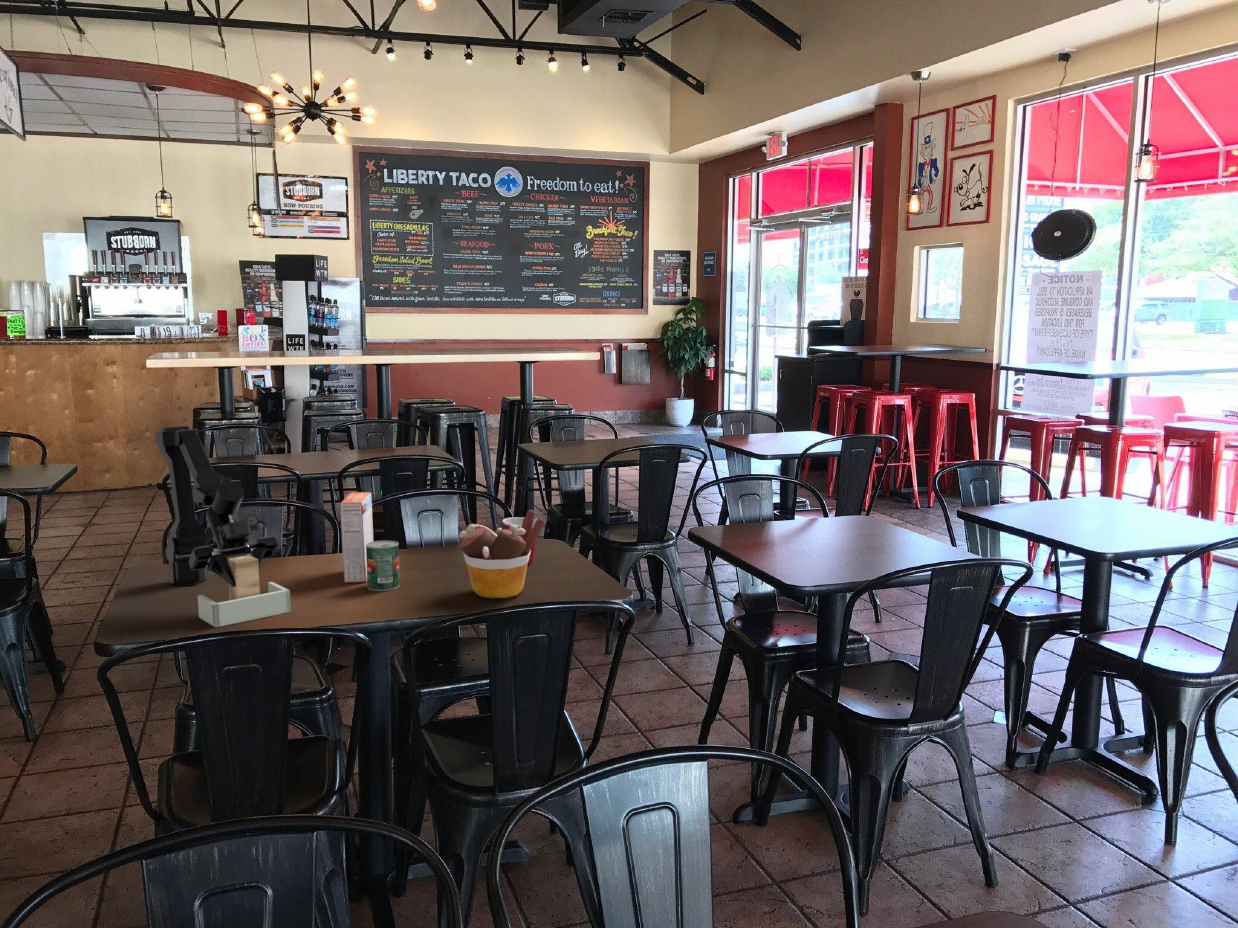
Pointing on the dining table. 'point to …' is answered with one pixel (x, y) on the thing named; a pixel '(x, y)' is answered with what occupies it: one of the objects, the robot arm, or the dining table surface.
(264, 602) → the open-side box
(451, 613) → the dining table surface
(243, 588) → the maple block
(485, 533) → the bucket of meat
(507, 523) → the plastic cup
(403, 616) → the dining table surface
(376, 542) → the canned tomato
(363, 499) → the cracker box
